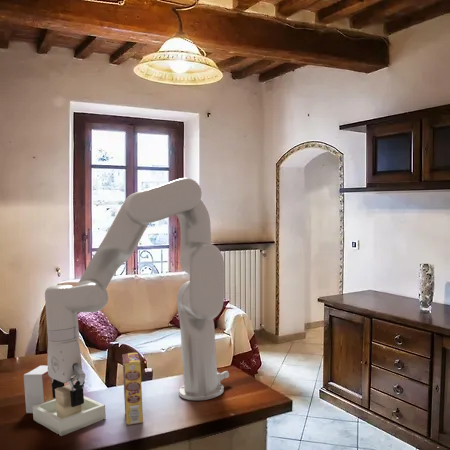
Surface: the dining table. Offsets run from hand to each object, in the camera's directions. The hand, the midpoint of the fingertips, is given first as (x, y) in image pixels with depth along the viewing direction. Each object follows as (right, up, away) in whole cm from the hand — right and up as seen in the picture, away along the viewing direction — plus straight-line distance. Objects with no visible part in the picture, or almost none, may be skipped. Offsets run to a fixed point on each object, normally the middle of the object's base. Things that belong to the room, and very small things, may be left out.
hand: (68, 400), depth 124 cm
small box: (-10, -5, +9) cm, 14 cm away
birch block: (0, -4, 0) cm, 4 cm away
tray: (0, -5, 0) cm, 5 cm away
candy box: (+17, -4, -1) cm, 18 cm away
